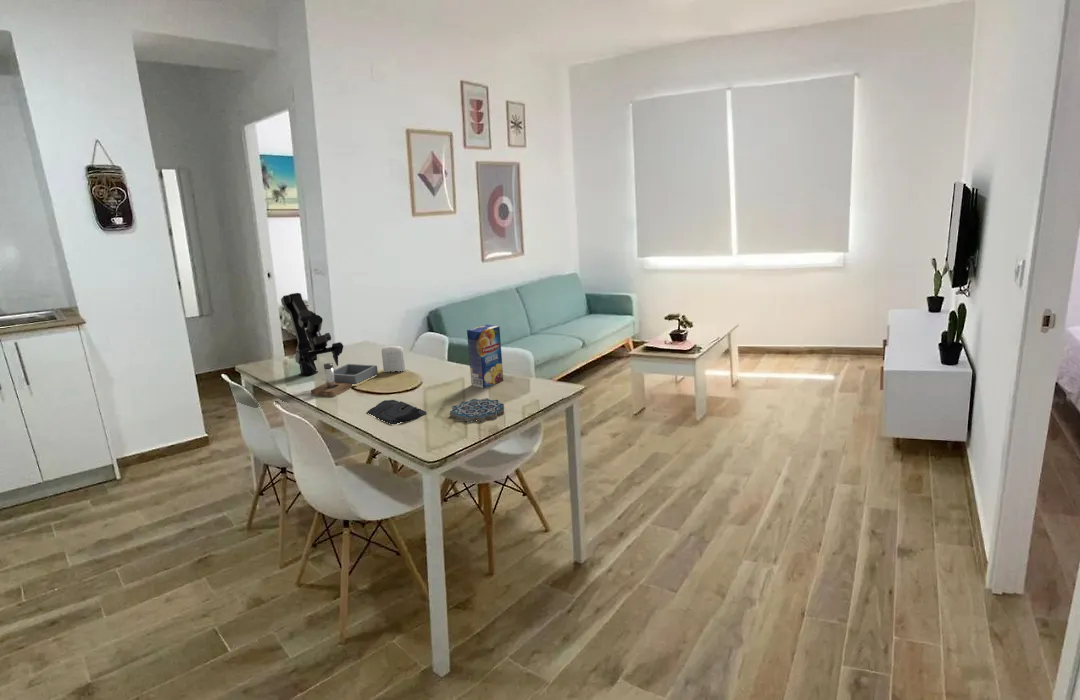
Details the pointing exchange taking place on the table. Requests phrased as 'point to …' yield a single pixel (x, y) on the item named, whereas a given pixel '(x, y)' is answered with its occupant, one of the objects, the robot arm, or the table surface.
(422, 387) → the table surface
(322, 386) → the bracket
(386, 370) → the photo printer
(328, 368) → the clear glass cylinder
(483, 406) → the decorative tile
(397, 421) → the dark slate chunk
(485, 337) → the juice carton
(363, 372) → the tray
